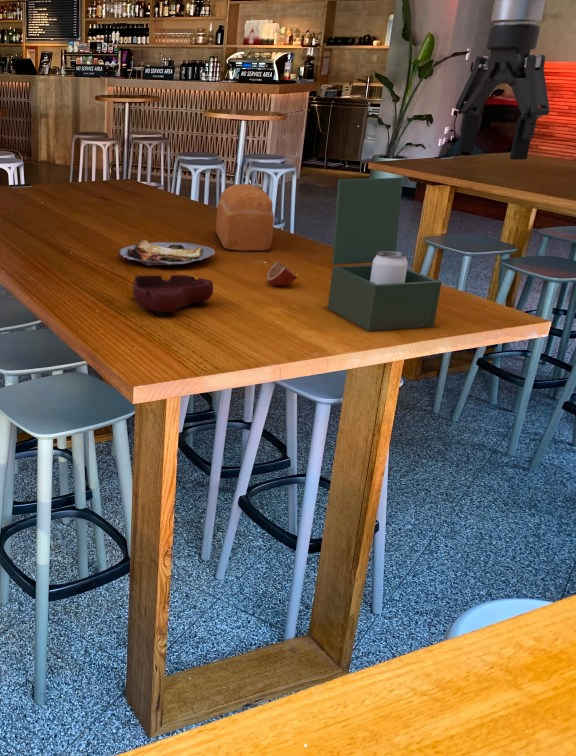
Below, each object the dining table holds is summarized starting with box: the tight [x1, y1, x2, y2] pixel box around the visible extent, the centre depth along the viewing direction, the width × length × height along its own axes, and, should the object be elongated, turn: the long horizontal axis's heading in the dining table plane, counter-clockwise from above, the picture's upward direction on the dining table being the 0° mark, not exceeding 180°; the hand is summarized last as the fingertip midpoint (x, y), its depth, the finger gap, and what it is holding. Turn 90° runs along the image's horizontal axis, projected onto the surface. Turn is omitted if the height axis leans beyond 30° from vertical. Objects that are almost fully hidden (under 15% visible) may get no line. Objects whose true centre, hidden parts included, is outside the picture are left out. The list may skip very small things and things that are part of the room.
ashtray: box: [132, 274, 214, 318], centre depth 169 cm, size 18×16×5 cm
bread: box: [215, 183, 275, 252], centre depth 228 cm, size 14×26×16 cm, turn 175°
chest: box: [327, 264, 443, 332], centre depth 159 cm, size 16×14×9 cm
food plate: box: [117, 239, 216, 267], centre depth 209 cm, size 25×23×4 cm
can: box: [370, 251, 408, 285], centre depth 158 cm, size 6×6×12 cm
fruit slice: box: [266, 260, 298, 287], centre depth 184 cm, size 8×7×5 cm
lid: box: [331, 177, 404, 266], centre depth 166 cm, size 17×14×8 cm
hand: (490, 155), depth 141 cm, fingers open, 13 cm apart
